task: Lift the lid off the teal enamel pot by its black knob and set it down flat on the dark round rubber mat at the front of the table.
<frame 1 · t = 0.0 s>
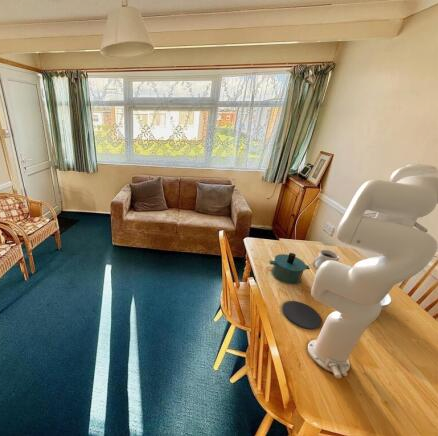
hand: (383, 240, 88), 37 cm above the table, tool pointing down, fingers open, 9 cm apart
serving bowl: (355, 299, 111), on the table
pot: (285, 275, 126), on the table
mug: (321, 268, 132), on the table
mat: (300, 314, 102), on the table
lid: (289, 263, 123), point 8 cm above the table, touching pot
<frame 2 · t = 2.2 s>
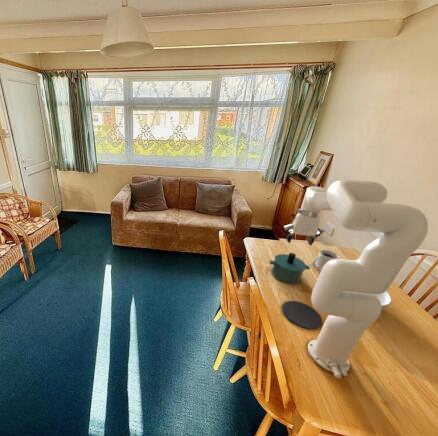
hand: (298, 242, 116), 22 cm above the table, tool pointing down, fingers open, 9 cm apart
nothing on the table moved.
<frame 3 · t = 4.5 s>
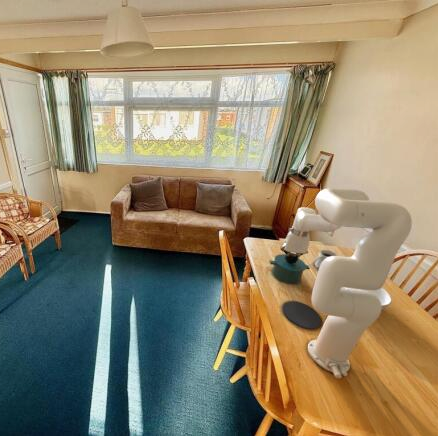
hand: (290, 261, 122), 10 cm above the table, tool pointing down, fingers closed on lid, 3 cm apart
lid: (289, 263, 123), point 9 cm above the table, touching gripper, pot
everything else where it was.
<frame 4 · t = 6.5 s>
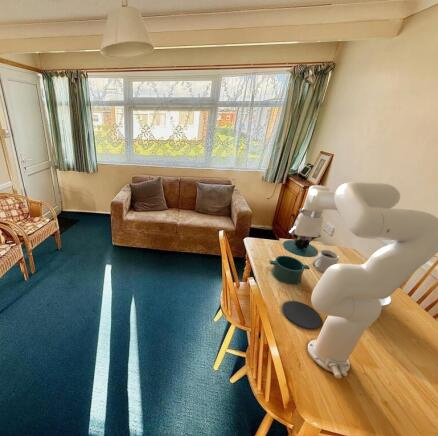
hand: (300, 246, 112), 23 cm above the table, tool pointing down, fingers closed on lid, 3 cm apart
lid: (299, 248, 112), point 21 cm above the table, touching gripper
everything else where it was.
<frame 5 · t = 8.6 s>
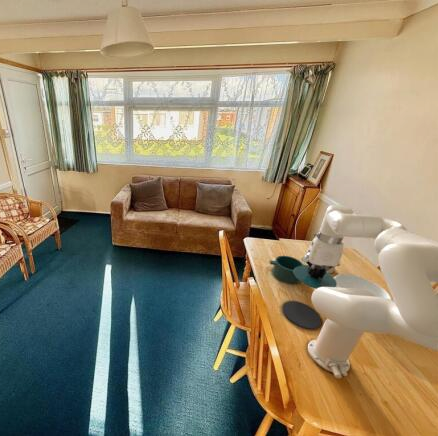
hand: (314, 275, 94), 21 cm above the table, tool pointing down, fingers closed on lid, 3 cm apart
lid: (313, 277, 95), point 20 cm above the table, touching gripper
everything else where it was.
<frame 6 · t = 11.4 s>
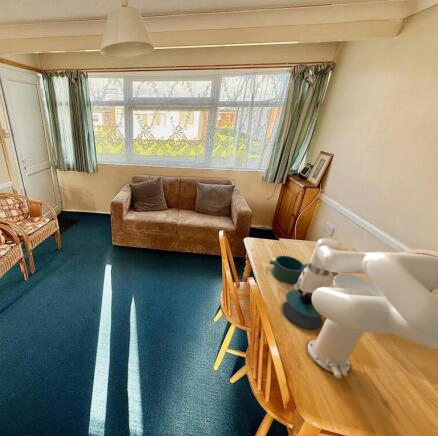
hand: (305, 301, 99), 8 cm above the table, tool pointing down, fingers closed on lid, 3 cm apart
lid: (305, 303, 100), point 7 cm above the table, touching gripper
everything else where it was.
when the fingers open (3 cm above the table, at t = 12.9 s): lid stays where it is, resting on mat.
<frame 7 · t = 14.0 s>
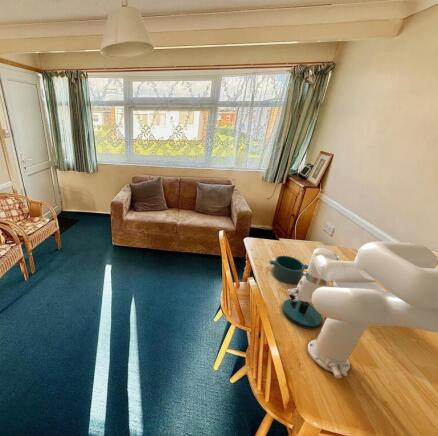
hand: (304, 308, 100), 5 cm above the table, tool pointing down, fingers open, 9 cm apart
lid: (301, 312, 102), point 1 cm above the table, touching mat
everything else where it was.
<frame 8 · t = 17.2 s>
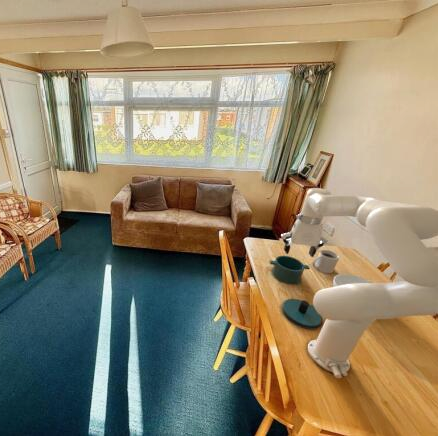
hand: (298, 253, 100), 26 cm above the table, tool pointing down, fingers open, 9 cm apart
nothing on the table moved.
at the end: lid 0.3 cm off-centre on the mat, point 1.4 cm above the mat's base; lid tilted 0°; lid touching mat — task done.
